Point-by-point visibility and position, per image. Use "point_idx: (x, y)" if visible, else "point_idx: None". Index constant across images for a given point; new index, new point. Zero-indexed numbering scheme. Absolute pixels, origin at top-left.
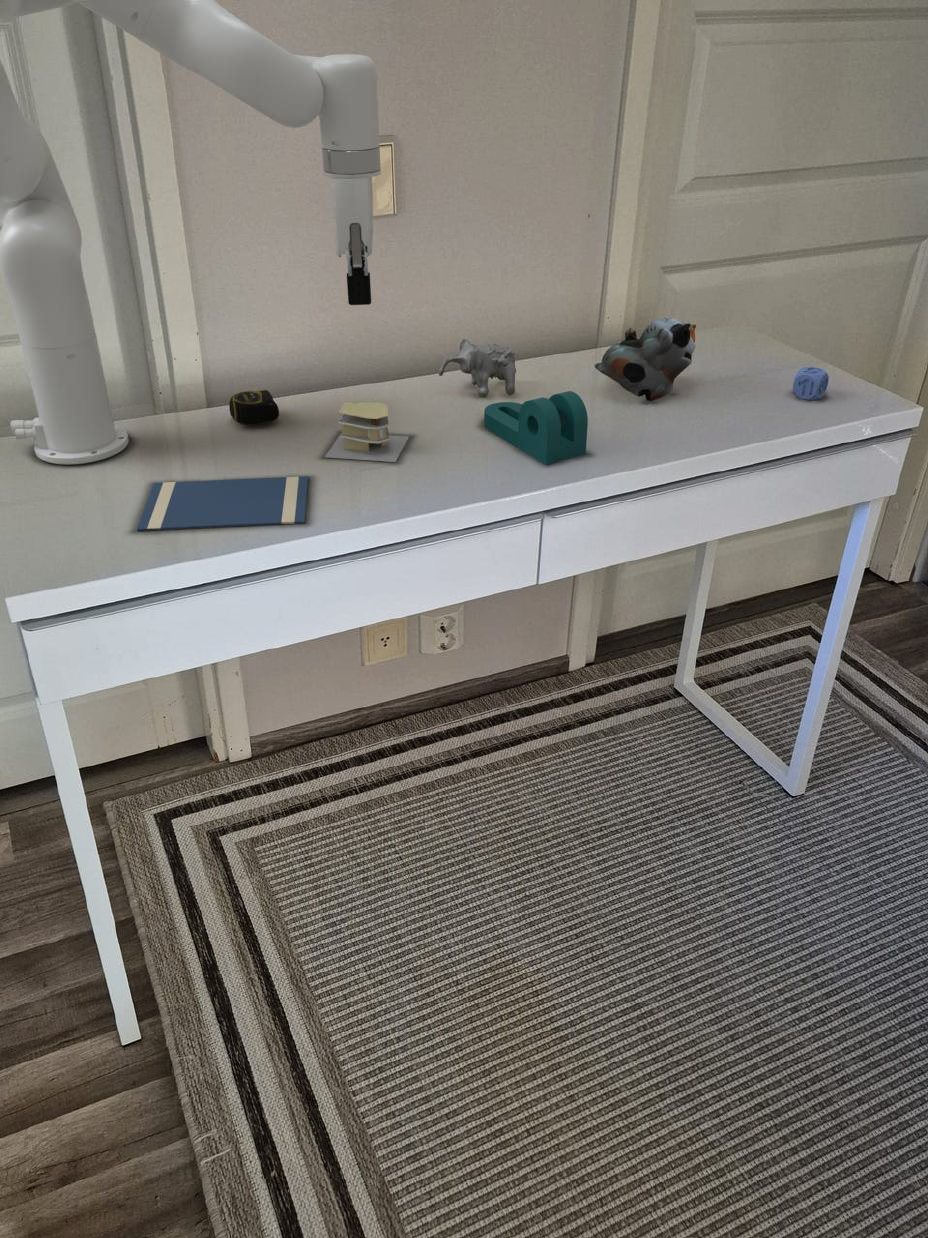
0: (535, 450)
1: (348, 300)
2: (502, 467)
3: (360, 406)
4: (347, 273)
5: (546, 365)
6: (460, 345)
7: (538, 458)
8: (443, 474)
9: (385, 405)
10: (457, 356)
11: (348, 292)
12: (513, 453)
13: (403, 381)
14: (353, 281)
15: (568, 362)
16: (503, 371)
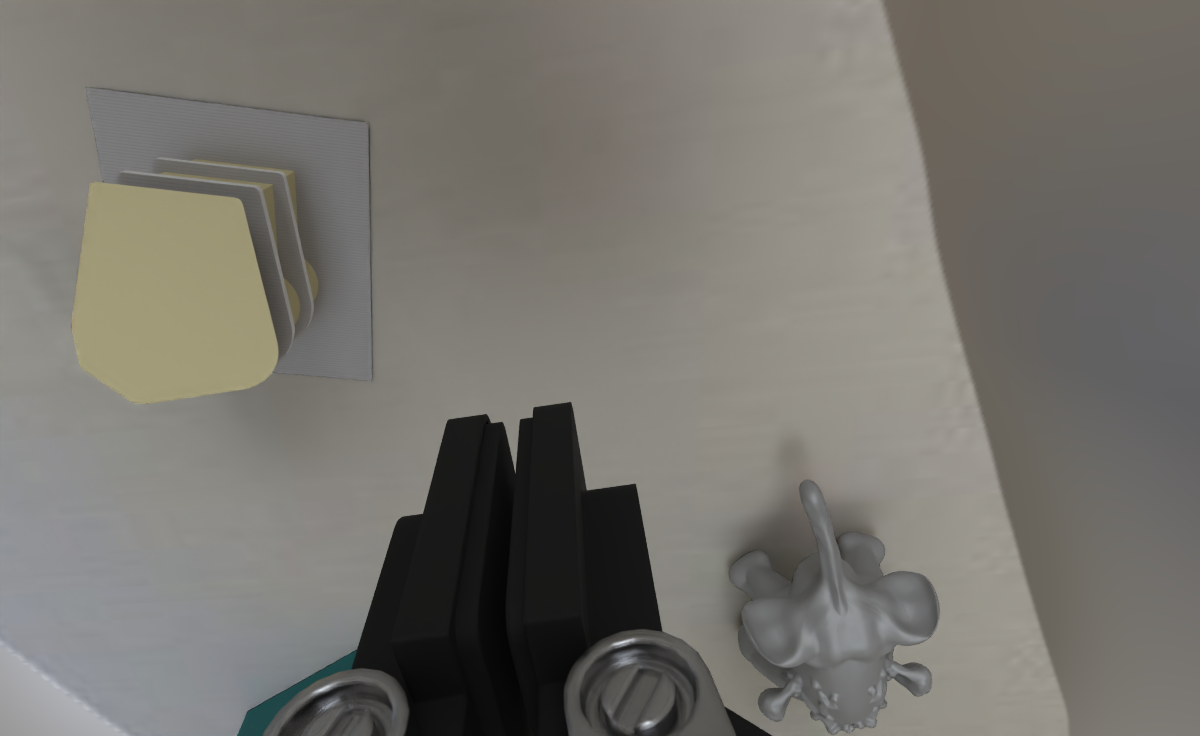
0: (275, 711)
1: (445, 435)
2: (201, 630)
3: (206, 277)
4: (545, 628)
5: (990, 688)
6: (931, 596)
7: (269, 702)
8: (96, 502)
9: (249, 381)
10: (829, 585)
11: (432, 491)
12: (306, 647)
13: (939, 304)
14: (359, 665)
15: (1000, 730)
16: (777, 668)
